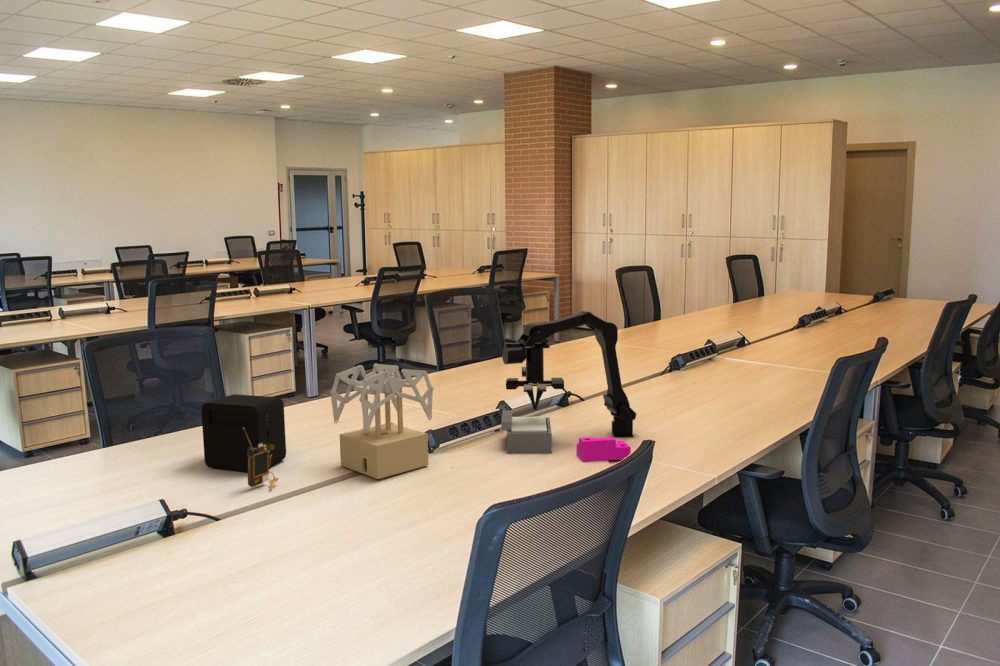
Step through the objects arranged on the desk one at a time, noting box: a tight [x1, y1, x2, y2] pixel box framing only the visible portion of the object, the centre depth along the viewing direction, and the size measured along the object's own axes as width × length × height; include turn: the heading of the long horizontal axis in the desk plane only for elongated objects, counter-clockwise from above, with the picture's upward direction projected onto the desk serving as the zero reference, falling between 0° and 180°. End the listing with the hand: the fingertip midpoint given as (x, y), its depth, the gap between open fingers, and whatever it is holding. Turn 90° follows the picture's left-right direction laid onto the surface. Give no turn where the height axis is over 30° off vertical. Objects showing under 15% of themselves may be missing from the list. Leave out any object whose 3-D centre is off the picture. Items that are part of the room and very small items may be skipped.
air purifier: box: [200, 393, 287, 473], centre depth 234 cm, size 20×15×20 cm
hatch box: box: [506, 416, 553, 454], centre depth 252 cm, size 14×21×6 cm, turn 178°
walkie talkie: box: [243, 427, 280, 489], centre depth 215 cm, size 13×13×18 cm
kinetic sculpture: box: [329, 363, 435, 480], centre depth 230 cm, size 25×20×30 cm
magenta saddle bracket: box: [575, 436, 632, 463], centre depth 237 cm, size 15×6×8 cm
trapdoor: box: [500, 409, 547, 432], centre depth 252 cm, size 14×18×3 cm
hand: (535, 409), depth 251 cm, fingers closed
